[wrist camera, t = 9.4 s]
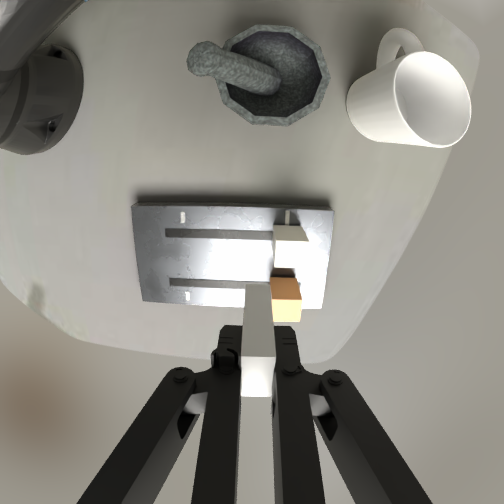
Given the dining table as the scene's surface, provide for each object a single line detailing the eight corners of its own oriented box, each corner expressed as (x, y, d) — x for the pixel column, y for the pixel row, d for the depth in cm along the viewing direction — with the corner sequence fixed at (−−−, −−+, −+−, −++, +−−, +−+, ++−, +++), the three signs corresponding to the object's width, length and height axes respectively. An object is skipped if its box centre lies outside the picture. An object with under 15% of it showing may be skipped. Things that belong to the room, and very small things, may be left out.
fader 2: (268, 297, 34) (270, 321, 29) (269, 277, 33) (271, 299, 28) (294, 297, 34) (299, 321, 29) (296, 277, 33) (302, 299, 28)
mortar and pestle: (316, 52, 25) (346, 9, 14) (313, 131, 29) (346, 127, 18) (211, 47, 26) (187, 2, 14) (207, 126, 29) (178, 119, 18)
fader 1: (272, 248, 31) (274, 267, 27) (273, 224, 30) (276, 240, 26) (299, 249, 31) (306, 268, 27) (301, 226, 30) (309, 241, 26)
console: (147, 293, 36) (142, 301, 35) (137, 202, 32) (130, 206, 30) (318, 300, 36) (321, 309, 34) (330, 206, 32) (334, 211, 30)
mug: (404, 51, 24) (462, 24, 13) (410, 144, 29) (474, 153, 18) (340, 40, 25) (380, -2, 14) (346, 139, 29) (394, 142, 18)
